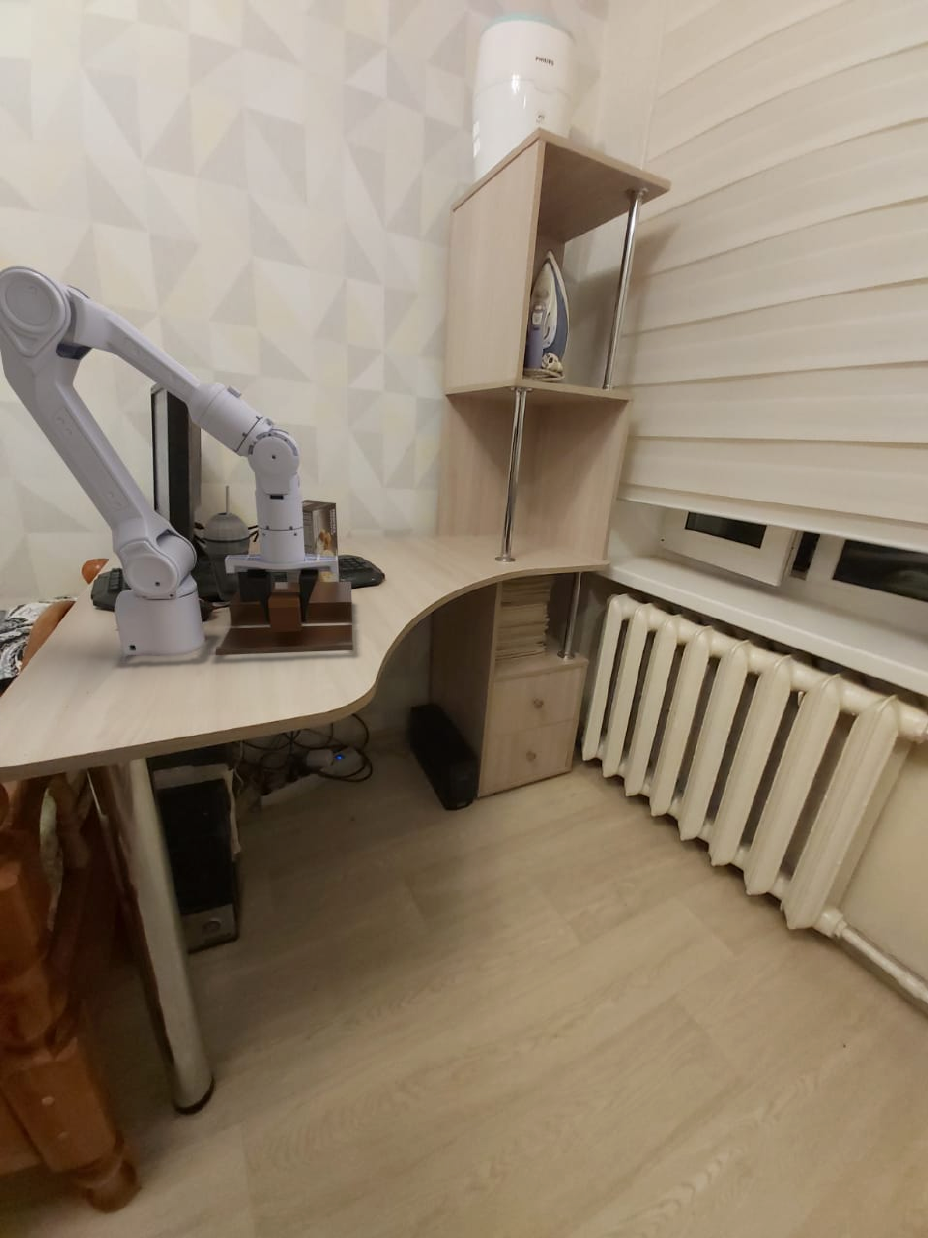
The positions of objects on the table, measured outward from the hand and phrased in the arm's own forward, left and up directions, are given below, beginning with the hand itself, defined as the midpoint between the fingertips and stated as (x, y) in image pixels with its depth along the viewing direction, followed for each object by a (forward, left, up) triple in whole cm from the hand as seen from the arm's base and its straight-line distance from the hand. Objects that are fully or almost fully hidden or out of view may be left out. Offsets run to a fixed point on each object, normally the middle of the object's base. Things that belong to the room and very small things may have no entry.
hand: (287, 619), depth 72 cm
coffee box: (+2, +26, -4) cm, 26 cm away
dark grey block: (-5, +11, 0) cm, 12 cm away
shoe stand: (0, +5, -4) cm, 6 cm away
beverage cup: (-11, +19, -4) cm, 22 cm away
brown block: (0, +1, -1) cm, 1 cm away
